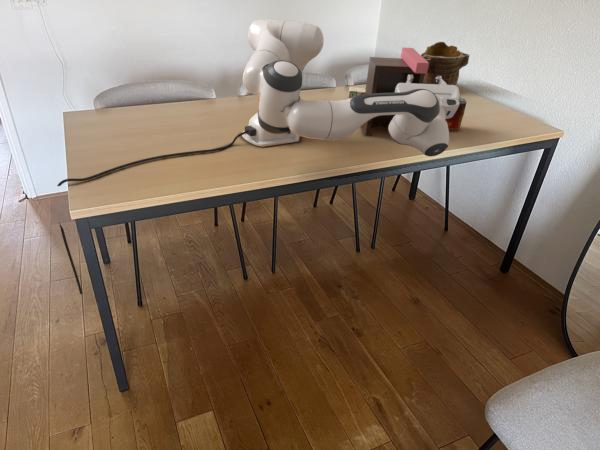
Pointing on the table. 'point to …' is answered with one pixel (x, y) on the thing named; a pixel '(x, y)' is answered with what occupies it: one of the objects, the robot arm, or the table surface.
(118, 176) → the table surface
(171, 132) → the table surface
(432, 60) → the brown wicker basket
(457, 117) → the soda can
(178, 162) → the table surface
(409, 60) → the pink block
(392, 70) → the walnut shelf
